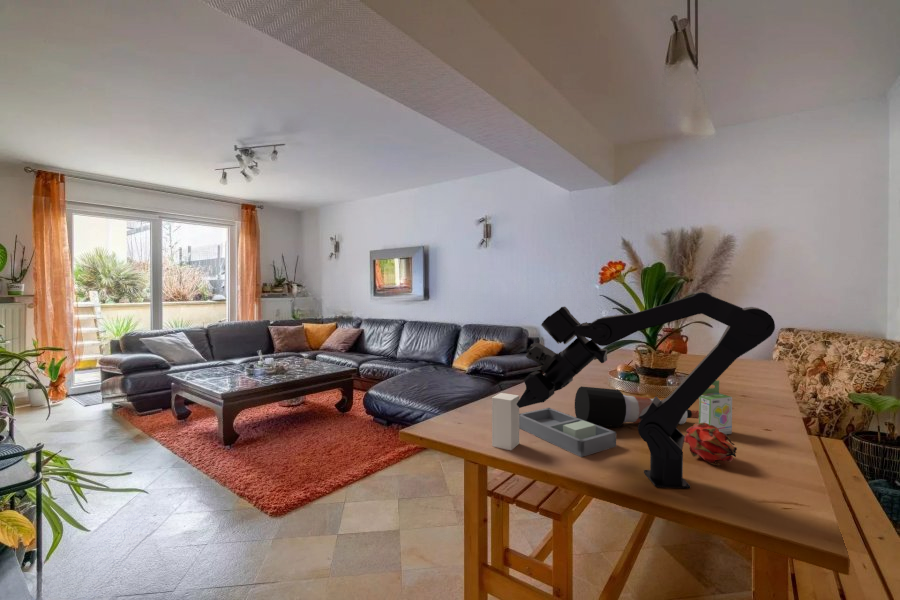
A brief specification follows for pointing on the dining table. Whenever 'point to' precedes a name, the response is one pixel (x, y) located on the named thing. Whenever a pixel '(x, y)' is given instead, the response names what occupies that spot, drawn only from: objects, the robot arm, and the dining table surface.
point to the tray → (567, 431)
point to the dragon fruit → (709, 443)
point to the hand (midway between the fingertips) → (525, 401)
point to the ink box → (716, 409)
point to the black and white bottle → (613, 407)
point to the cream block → (505, 421)
